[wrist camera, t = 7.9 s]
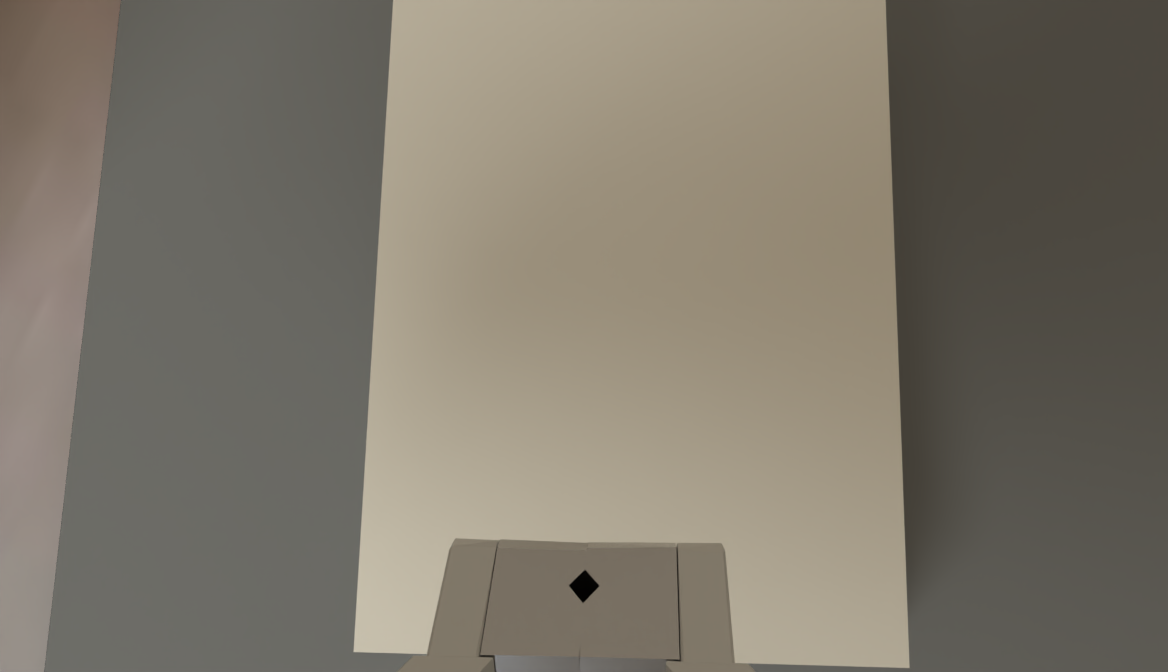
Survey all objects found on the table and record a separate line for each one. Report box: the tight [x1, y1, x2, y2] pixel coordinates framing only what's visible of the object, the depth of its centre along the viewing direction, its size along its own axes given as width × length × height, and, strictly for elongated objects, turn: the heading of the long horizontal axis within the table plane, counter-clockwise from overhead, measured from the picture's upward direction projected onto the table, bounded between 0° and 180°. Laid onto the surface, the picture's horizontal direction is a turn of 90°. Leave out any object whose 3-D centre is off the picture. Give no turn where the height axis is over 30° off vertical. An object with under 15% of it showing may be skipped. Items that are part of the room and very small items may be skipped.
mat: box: [44, 0, 1168, 672], centre depth 21 cm, size 22×22×1 cm
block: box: [354, 0, 910, 668], centre depth 19 cm, size 2×9×12 cm
